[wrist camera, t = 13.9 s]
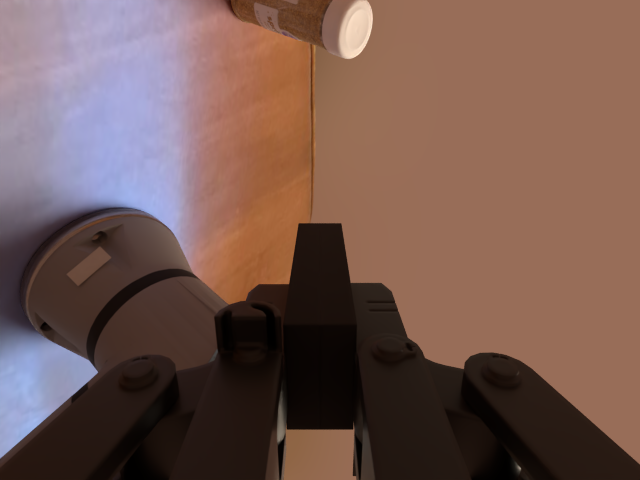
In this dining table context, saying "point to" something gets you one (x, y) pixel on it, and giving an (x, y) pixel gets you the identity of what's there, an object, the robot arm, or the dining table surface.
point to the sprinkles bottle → (313, 21)
